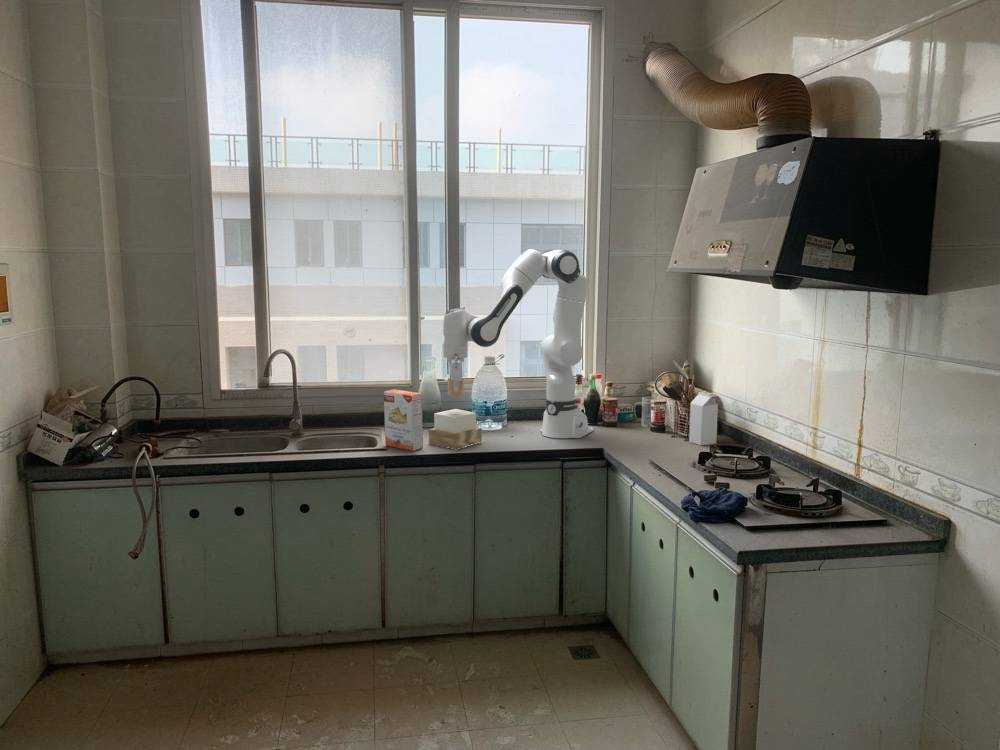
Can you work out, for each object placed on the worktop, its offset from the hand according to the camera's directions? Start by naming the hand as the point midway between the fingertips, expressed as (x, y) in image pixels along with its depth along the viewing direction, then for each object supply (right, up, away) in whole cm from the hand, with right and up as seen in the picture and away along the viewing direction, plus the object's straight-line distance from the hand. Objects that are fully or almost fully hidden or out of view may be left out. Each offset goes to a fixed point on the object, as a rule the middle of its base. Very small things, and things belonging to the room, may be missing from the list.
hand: (455, 389), depth 275 cm
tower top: (0, -15, +3) cm, 15 cm away
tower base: (0, -21, +4) cm, 21 cm away
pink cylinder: (0, -2, 0) cm, 2 cm away
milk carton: (+93, -20, +3) cm, 95 cm away
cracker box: (-19, -22, -2) cm, 29 cm away
